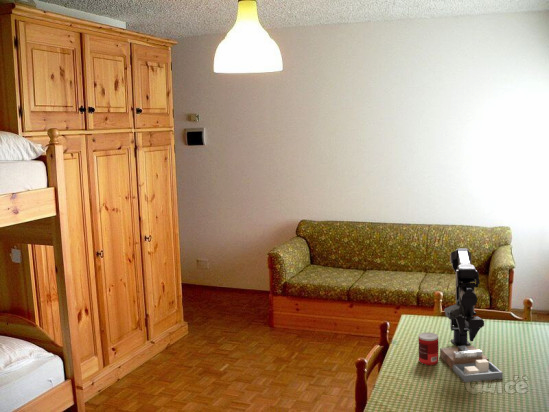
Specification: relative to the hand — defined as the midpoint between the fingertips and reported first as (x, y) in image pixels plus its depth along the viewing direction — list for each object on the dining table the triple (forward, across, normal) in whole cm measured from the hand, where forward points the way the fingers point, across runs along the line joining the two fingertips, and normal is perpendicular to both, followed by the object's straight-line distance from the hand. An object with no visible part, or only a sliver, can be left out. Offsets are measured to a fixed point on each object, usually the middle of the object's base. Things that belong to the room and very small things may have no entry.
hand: (466, 336), depth 231 cm
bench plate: (+11, -2, 0) cm, 12 cm away
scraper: (+7, +3, 0) cm, 7 cm away
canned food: (+12, -5, -14) cm, 19 cm away
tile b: (+9, +7, +3) cm, 12 cm away
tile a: (+8, +11, -3) cm, 14 cm away
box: (+11, +10, 0) cm, 15 cm away
